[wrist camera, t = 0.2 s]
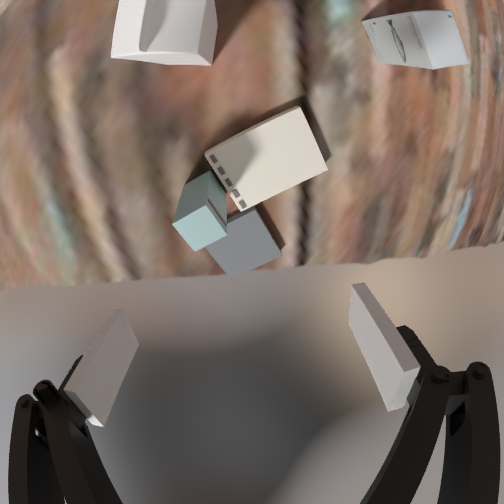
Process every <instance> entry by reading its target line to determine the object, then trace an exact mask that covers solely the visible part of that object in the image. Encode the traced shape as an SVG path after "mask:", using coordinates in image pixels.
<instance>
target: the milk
mask: <svg viewBox="0 0 504 504" xmlns="http://www.w3.org/2000/svg"><path fill="white" fill-rule="evenodd" d="M217 29H218V22H217V15H216V8H215V1H214V0H119V5H118V10H117V16H116V22H115V28H114V35H113V42H112V50H111V58H120V59H130V60H139V61H146V62H153V63H160V64H166V65H209V66H211V65H212V62H213V55H214V48H215V42H216V35H217Z"/></svg>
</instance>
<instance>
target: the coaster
mask: <svg viewBox="0 0 504 504" xmlns="http://www.w3.org/2000/svg"><path fill="white" fill-rule="evenodd" d="M205 248H206V249H207V250H208V251H209V253H210V254H211V255H212V256H213V258H214V259H215V260H216V261H217V263H218V264H219V265H220V266H221V268H222V269H223V270H224V271H225V273H226V274H227V275H228V276H229V277H230V278H231V279H232V278H234V277H236V276H238V275H241V274H243V273H245V272H247V271H249V270H252V269H254V268H256V267H258V266H260V265H263V264H265V263H267V262H269V261H271V260H273V259H276V258H278V257H280V256H282V252H281V250H280V248H279V246H278V244H277V243H276V241H275V239H274V238H273V236H272V234H271V232H270V231H269V229H268V227H267V226H266V224H265V222H264V221H263V219H262V217H261V216H260V214H259V212H258V211H257V209H256V207H255V206H252V207H250V208H248V209H246V210H244V211H242V212H240V213H238V214H236V215H234V216H232V217H230V218H228V219H227V236H225V237H223V238H221V239H219V240H217V241H215V242H213V243H211V244H209V245H207V246H205Z"/></svg>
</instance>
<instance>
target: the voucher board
mask: <svg viewBox="0 0 504 504" xmlns="http://www.w3.org/2000/svg"><path fill="white" fill-rule="evenodd" d="M205 157H206V159H207V160H208V162H209V163H210V165H211V166H212V168H213V169H214V171H215V172H216V174H217V176H218V177H219V179H220V180H221V182H222V183H223V185H224V186H225V188H226V189H227V191H228V193H229V194H230V196H231V197H232V199H233V200H234V202H235V203H236V205H237V207H238V208H239V210H240V211H241V212H242V211H244V210H246V209H248V208H250V207H252V206H254V205H256V204H258V203H260V202H262V201H264V200H266V199H268V198H270V197H272V196H274V195H276V194H278V193H280V192H282V191H284V190H286V189H288V188H290V187H292V186H295V185H297V184H299V183H301V182H303V181H305V180H307V179H309V178H311V177H314V176H316V175H318V174H320V173H322V172H324V171H326V170H328V169H327V167H326V164H325V162H324V159H323V157H322V154H321V152H320V150H319V147H318V145H317V143H316V140H315V138H314V136H313V134H312V131H311V129H310V127H309V125H308V122H307V120H306V118H305V116H304V114H303V112H302V110H301V108H300V107H299V106H297V105H296V106H294V107H292V108H290V109H287V110H285V111H283V112H281V113H279V114H276V115H274V116H272V117H270V118H268V119H266V120H264V121H262V122H260V123H258V124H256V125H254V126H252V127H250V128H248V129H246V130H244V131H242V132H240V133H238V134H236V135H234V136H232V137H231V138H229V139H227V140H225V141H223V142H221V143H220V144H218V145H216V146H214V147H213V148H211V149H209V150H207V151H206V152H205Z"/></svg>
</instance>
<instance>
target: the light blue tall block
mask: <svg viewBox="0 0 504 504" xmlns="http://www.w3.org/2000/svg"><path fill="white" fill-rule="evenodd" d="M172 224H173V226H174V227H175V228H176V229H177V231H178V232H179V233H180V234H181V236H182V237H183V238H184V239H185V241H186V242H187V243H188V244H189V245H190V247H191V248H192V249H193V250H194V251H197V250H199V249H201V248H203V247H205V246H207V245H209V244H211V243H213V242H215V241H217V240H219V239H221V238H223V237H225V236H227V208H226V193H225V192H224V190H223V188H222V187H221V185H220V184H219V182H218V181H217V179H216V178H215V176H214V175H213V173H212V172H211V170H209V171H208V172H206V173H204V174H202V175H201V176H199V177H197V178H195V179H194V180H192V181H190V182H189V183H187V184H185V185H184V187H183V191H182V194H181V197H180V200H179V203H178V207H177V210H176V213H175V216H174V220H173V223H172Z"/></svg>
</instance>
